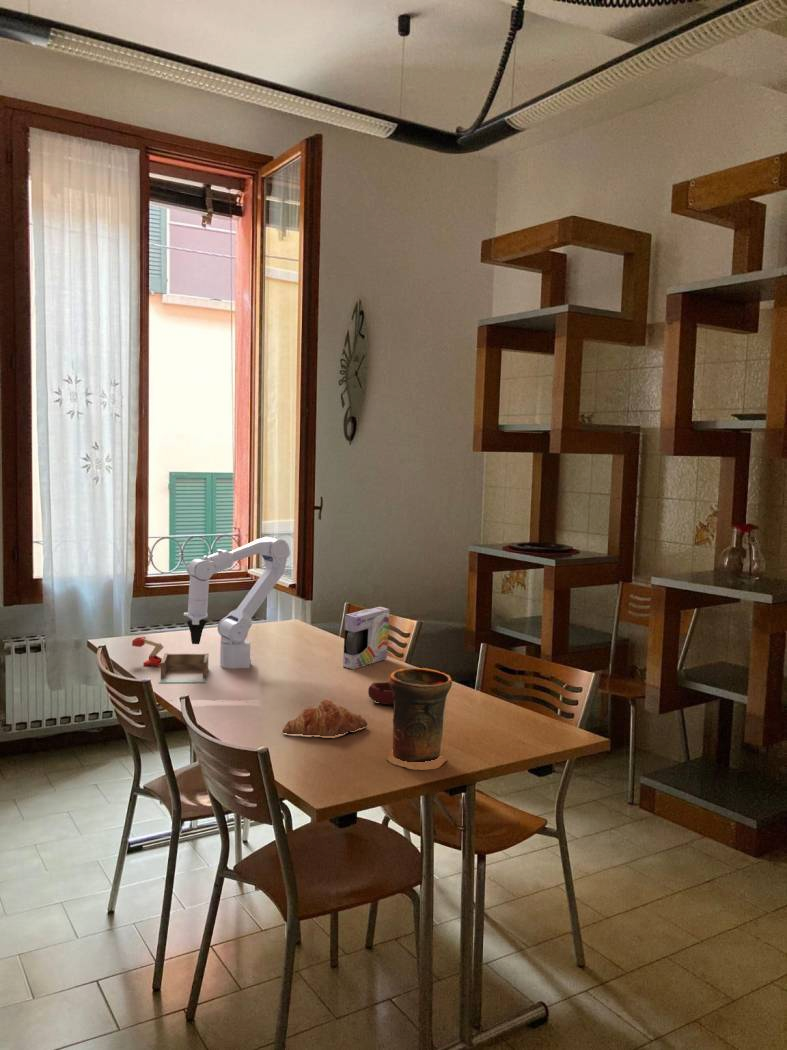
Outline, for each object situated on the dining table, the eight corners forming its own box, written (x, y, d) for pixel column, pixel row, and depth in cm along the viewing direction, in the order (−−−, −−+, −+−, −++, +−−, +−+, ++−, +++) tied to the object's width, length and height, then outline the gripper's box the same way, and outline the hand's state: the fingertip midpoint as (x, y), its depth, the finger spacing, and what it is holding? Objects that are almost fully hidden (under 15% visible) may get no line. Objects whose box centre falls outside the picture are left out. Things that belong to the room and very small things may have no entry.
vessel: (427, 744, 209) (431, 664, 207) (458, 766, 197) (464, 681, 194) (374, 752, 202) (378, 669, 200) (403, 776, 190) (408, 688, 187)
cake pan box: (351, 671, 273) (353, 616, 271) (339, 667, 276) (341, 613, 274) (388, 660, 288) (390, 608, 286) (376, 657, 291) (378, 605, 289)
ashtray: (409, 716, 231) (409, 698, 231) (362, 702, 241) (363, 685, 241) (446, 701, 245) (447, 684, 245) (401, 690, 255) (401, 673, 255)
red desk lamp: (174, 672, 263) (175, 641, 262) (131, 669, 264) (131, 638, 263) (178, 669, 266) (179, 638, 265) (135, 666, 267) (136, 636, 266)
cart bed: (208, 672, 263) (208, 653, 263) (206, 682, 253) (206, 662, 252) (164, 672, 261) (164, 653, 261) (160, 682, 251) (160, 662, 250)
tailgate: (206, 678, 253) (205, 682, 248) (206, 682, 253) (205, 686, 248) (160, 678, 250) (158, 682, 246) (160, 682, 251) (158, 686, 246)
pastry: (332, 748, 204) (333, 716, 204) (279, 735, 212) (280, 703, 211) (368, 729, 219) (369, 698, 218) (318, 717, 227) (319, 688, 226)
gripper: (186, 594, 266) (184, 637, 267) (182, 602, 252) (180, 648, 253) (209, 595, 267) (207, 638, 268) (207, 603, 253) (204, 649, 254)
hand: (195, 643), depth 261 cm, fingers closed
